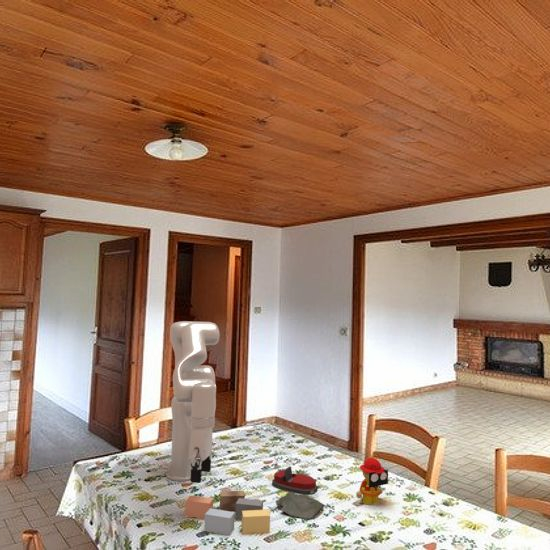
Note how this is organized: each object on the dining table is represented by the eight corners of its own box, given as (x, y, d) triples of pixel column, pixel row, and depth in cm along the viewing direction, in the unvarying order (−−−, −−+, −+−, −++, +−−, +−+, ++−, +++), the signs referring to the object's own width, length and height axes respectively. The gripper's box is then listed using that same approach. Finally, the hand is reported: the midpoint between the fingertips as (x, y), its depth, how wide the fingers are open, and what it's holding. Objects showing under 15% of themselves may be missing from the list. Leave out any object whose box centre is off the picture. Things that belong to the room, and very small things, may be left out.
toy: (366, 510, 149) (367, 464, 150) (350, 499, 157) (351, 456, 158) (392, 504, 154) (393, 460, 155) (375, 494, 162) (376, 452, 163)
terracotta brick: (184, 517, 141) (185, 500, 141) (189, 511, 145) (189, 495, 145) (209, 519, 140) (209, 503, 140) (212, 514, 143) (213, 498, 144)
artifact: (269, 512, 147) (310, 525, 139) (269, 500, 147) (310, 512, 139) (290, 496, 159) (328, 507, 151) (290, 485, 159) (328, 495, 151)
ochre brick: (242, 534, 131) (243, 516, 132) (241, 527, 135) (242, 510, 136) (269, 532, 133) (270, 515, 133) (267, 526, 137) (267, 509, 137)
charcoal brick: (235, 519, 140) (235, 503, 140) (238, 514, 144) (238, 498, 144) (260, 522, 139) (260, 506, 139) (262, 516, 143) (263, 500, 143)
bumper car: (310, 498, 158) (310, 469, 159) (261, 485, 168) (262, 458, 168) (321, 488, 167) (321, 461, 167) (274, 477, 176) (275, 451, 177)
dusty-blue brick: (204, 531, 132) (204, 514, 133) (209, 525, 136) (210, 508, 137) (229, 535, 130) (230, 518, 131) (234, 529, 134) (234, 512, 135)
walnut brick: (219, 512, 145) (220, 496, 145) (219, 506, 149) (220, 491, 149) (244, 511, 146) (244, 495, 146) (243, 505, 150) (244, 490, 150)
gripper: (200, 415, 153) (198, 467, 152) (181, 427, 136) (179, 485, 135) (221, 416, 152) (219, 468, 150) (205, 429, 135) (203, 488, 133)
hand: (200, 476), depth 142 cm, fingers open, 9 cm apart
